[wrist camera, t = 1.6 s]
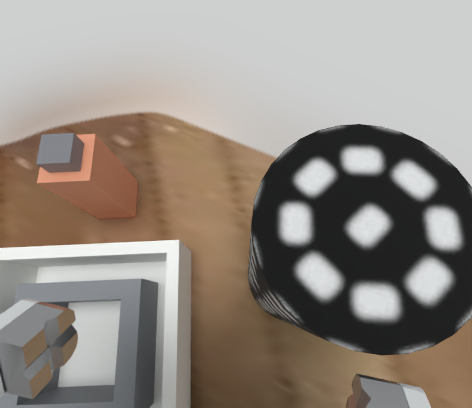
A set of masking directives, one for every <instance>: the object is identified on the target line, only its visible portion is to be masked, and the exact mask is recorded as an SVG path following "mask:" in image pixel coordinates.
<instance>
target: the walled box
mask: <svg viewBox="0 0 472 408" xmlns="http://www.w3.org/2000/svg"><path fill="white" fill-rule="evenodd" d="M191 256H192V252H191V251H190V250H189V249H188V248H187V247H186V246H185V245H184V244H183V243H182V242H181V241H180V240H166V241H145V242H123V243H102V244H80V245H59V246H37V247H16V248H0V314H2V313H3V312H5V311H6V310H7V309H9V308H10V307H12V306H13V305H15V304H16V303H18V302H19V301H20V300H23V299H27V298H29V299H33V300H37V301H41V302H46V303H50V304H53V305H57V306H61V307H65V308H69V309H71V310H73V311H74V312H75V318H76V320H75V322H74V323H73V324H72V325H73V327H74V328H75V329H76V331H77V333H78V342H77V347H76V349H75V351H74V353H73V355H72V357H71V358H70V359H69V360H68V361H67V362H66V364H65V365H63V366H61V367H59V368H57V369H55V370H54V371H53V377H52V379H51V380H50V381H49V382H48V384H47V385H46V386H45V387H44V388H43V389H42V390H41V391H40V392H39V393H38V395H37V396H36V397H35V398H34V399H29V398H25V397H21V396H17V395H13V394H9V393H5V395H3V396H2V397H0V408H191Z"/></svg>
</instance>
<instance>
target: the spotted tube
mask: <svg viewBox="0 0 472 408" xmlns="http://www.w3.org/2000/svg"><path fill="white" fill-rule="evenodd" d="M248 280H249V286H250V289H251V292H252V294H253V296H254V298H255V300H256V301H257V303H258V304H259V305H260V306H261V307H262V308H263V309H264V310H265V311H266V312H267V313H269V314H271V315H272V316H274V317H276V318H278V319H281V320H283V321H285V322H287V323H289V324H292V325H294V326H296V327H298V328H301V329H303V330H305V331H307V332H309V333H312V334H314V335H316V336H318V337H321V338H323V339H325V340H327V341H329V342H332V343H335V344H337V345H340V346H343V347H346V348H348V349H351V350H354V351H358V352H365V353H371V354H377V355H394V354H409V353H412V352H416V351H419V350H423V349H426V348H430V347H433V346H434V345H436V344H438V343H440V342H442V341H443V340H445V339H447V338H449V337H450V336H452V335H454V334H455V333H456V332H457V331H458V330H459V329H460V328H461V327H462V326H463V325H464V324H465V323H466V322H467V321H469V320H470V319H471V317H472V187H471V186H470V184H469V183H468V182H467V181H466V179H465V178H464V177H463V176H462V175H461V173H460V172H459V171H458V170H457V168H456V167H454V166H453V165H452V164H451V163H450V162H449V161H448V160H447V159H446V158H445V157H443V156H442V155H441V154H440V153H439V152H437V151H436V150H434V149H432V148H431V147H429V146H428V145H426V144H425V143H423V142H422V141H420V140H417V139H415V138H413V137H411V136H409V135H406V134H404V133H402V132H398V131H395V130H391V129H388V128H384V127H380V126H371V125H361V124H356V125H340V126H335V127H331V128H327V129H322V130H319V131H316V132H314V133H312V134H310V135H308V136H305V137H303V138H301V139H300V140H298V141H297V142H295V143H294V144H292V145H291V146H290V147H288V148H287V149H285V150H284V151H283V152H282V154H281V155H280V156H279V157H278V158H277V159H276V160H275V161H274V162H273V163H272V164H271V166H270V168H269V169H268V171H267V172H266V174H265V176H264V177H263V179H262V181H261V183H260V186H259V189H258V192H257V195H256V197H255V200H254V208H253V215H252V224H251V239H250V253H249V268H248Z"/></svg>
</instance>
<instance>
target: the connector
mask: <svg viewBox="0 0 472 408" xmlns="http://www.w3.org/2000/svg"><path fill="white" fill-rule="evenodd" d="M36 164H37V165H38V166H40V170H39V176H38V181H37V183H38V184H40V185H41V186H43V187H45V188H46V189H48V190H50V191H52V192H53V193H55V194H57V195H59V196H60V197H62V198H64V199H65V200H67V201H69V202H71V203H72V204H74V205H76V206H77V207H79V208H81V209H83V210H84V211H86V212H88V213H89V214H91V215H93V216H95V217H96V218H98V219H107V218H128V217H136V208H137V193H138V182H137V180H136V179H135V178H134V177H133V176H132V175H131V174H130V173H129V171H128V170H127V169H126V168H125V167H124V166H123V165H122V163H121V162H120V161H119V160H118V159H117V158H116V157H115V156H114V154H113V153H112V152H111V151H110V150H109V149H108V148H107V146H106V145H105V144H104V143H103V142H102V141H101V140H100V139H99V137H98V136H97V135H96V134H85V135H75V134H74V133H65V134H46V135H42V136H41V142H40V147H39V152H38V158H37V163H36Z"/></svg>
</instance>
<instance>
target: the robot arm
mask: <svg viewBox="0 0 472 408" xmlns="http://www.w3.org/2000/svg"><path fill="white" fill-rule="evenodd" d="M75 320H76V318H75V312H74V311H73V310H71V309H69V308H65V307H61V306H57V305H53V304H50V303H46V302H41V301H37V300H33V299H29V298H27V299H23V300H20V301H19V302H18V303H16V304H15V305H13V306H12V307H10V308H9V309H7V310H6V311H5V312H3V313H2V314H0V397H2V396H3V395H5V393H9V394H13V395H17V396H21V397H25V398H29V399H34V398H35V397H36V396H37V395H38V393H39V392H40V391H41V390H42V389H43V388H44V387H45V386H46V385H47V384H48V382H49V381H50V380H51V379H52V377H53V371H54V370H55V369H57V368H59V367H61V366H63V365H65V364H66V362H67V361H68V360H69V359H70V358H71V357H72V355H73V353H74V351H75V349H76V347H77V342H78V333H77V331H76V329H75V328H74V327H73V325H72V324H73V323H74V322H75ZM352 388H353V394H352V395H351V396H349V397H348V400H347V404H346V408H431V406H430V404H429V401H428V399H427V397H426V394H425V392H424V391H423V390H422V389H421V388H420V387H416V386H411V385H407V384H402V383H397V382H393V381H388V380H384V379H379V378H374V377H370V376H365V375H361V374H356V375H355V376H354V379H353V382H352Z"/></svg>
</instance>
